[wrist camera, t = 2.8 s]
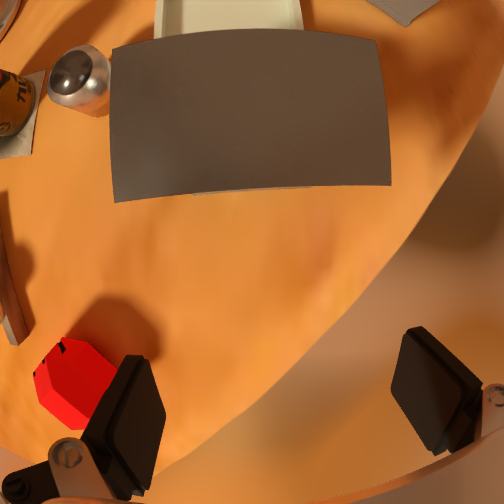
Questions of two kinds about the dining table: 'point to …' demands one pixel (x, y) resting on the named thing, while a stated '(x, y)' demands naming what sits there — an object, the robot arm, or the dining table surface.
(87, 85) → the cylinder
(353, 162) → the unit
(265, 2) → the tray
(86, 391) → the ball
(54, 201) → the dining table surface
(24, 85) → the condiment
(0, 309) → the valve
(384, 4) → the cassette tape recorder
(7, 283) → the valve rest
